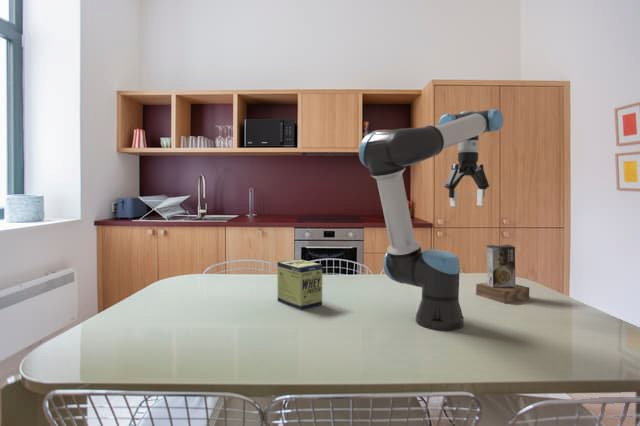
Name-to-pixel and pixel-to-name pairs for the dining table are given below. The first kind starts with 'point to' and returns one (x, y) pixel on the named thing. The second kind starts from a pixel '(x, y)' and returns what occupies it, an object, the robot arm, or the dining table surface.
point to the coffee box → (501, 265)
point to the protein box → (300, 283)
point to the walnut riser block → (503, 293)
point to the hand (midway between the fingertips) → (466, 205)
